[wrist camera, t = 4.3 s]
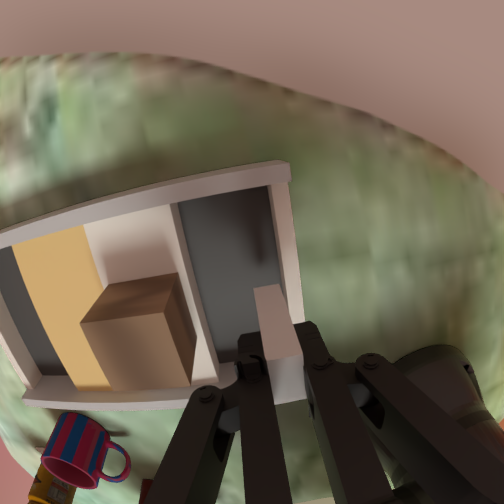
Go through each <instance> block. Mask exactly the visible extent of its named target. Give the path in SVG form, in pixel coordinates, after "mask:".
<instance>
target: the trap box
mask: <svg viewBox="0 0 504 504" xmlns="http://www.w3.org/2000/svg"><path fill="white" fill-rule="evenodd" d="M290 181H292V177H291V170H290V164H289V163H288V162H285V161H282V160H271V161H265V162H259V163H253V164H247V165H241V166H236V167H230V168H225V169H220V170H214V171H209V172H204V173H199V174H194V175H190V176H185V177H180V178H176V179H171V180H167V181H163V182H158V183H154V184H150V185H146V186H142V187H138V188H134V189H130V190H126V191H122V192H118V193H115V194H111V195H107V196H104V197H100V198H96V199H93V200H89V201H86V202H83V203H79V204H76V205H72V206H69V207H66V208H63V209H60V210H56V211H53V212H50V213H47V214H44V215H41V216H38V217H35V218H32V219H29V220H26V221H23V222H21V223H18V224H15V225H12V226H9V227H7V228H4V229H1V230H0V344H1V346H2V348H3V349H4V351H5V353H6V355H7V357H8V358H9V360H10V362H11V364H12V365H13V367H14V369H15V370H16V372H17V374H18V375H19V377H20V379H21V380H22V382H23V383H24V385H25V386H26V388H27V390H26V392H25V393H24V395H23V396H22V398H21V399H22V400H23V402H24V403H25V405H26V406H32V407H42V408H53V409H67V410H89V411H141V410H163V409H179V408H186V405H187V403H188V401H189V398H190V396H191V394H192V393H193V392H194V391H195V390H196V389H197V388H199V387H202V386H205V385H212V386H216V387H218V388H219V389H223V388H225V387H228V386H230V385H231V384H233V383H234V382H235V381H236V380H237V376H236V373H235V369H234V362H235V361H236V359H237V358H238V344H237V341H238V339H239V337H240V335H241V334H245V333H251V332H257V331H260V325H259V319H258V313H257V307H256V301H255V295H254V289H253V288H258V287H263V286H269V285H274V284H279V285H280V288H281V291H282V294H283V297H284V299H285V302H286V305H287V308H288V311H289V314H290V317H291V320H292V323H293V324H297V323H302V322H305V316H304V307H303V297H302V288H301V279H300V271H299V262H298V254H297V246H296V238H295V231H294V223H293V216H292V209H291V201H290V194H289V188H288V182H290ZM176 272H178V273H179V277H180V281H181V284H182V288H183V291H184V295H185V298H186V302H187V305H188V308H189V312H190V315H191V318H192V322H193V325H194V328H195V331H196V335H197V343H196V350H195V358H194V365H193V373H192V381H191V386H189V387H179V388H167V389H154V390H138V391H113V389H112V387H111V386H110V384H109V382H108V380H107V378H106V377H105V375H104V373H103V371H102V369H101V367H100V365H99V363H98V361H97V359H96V358H95V356H94V354H93V352H92V349H91V347H90V345H89V343H88V341H87V339H86V337H85V335H84V333H83V330H82V328H81V326H80V324H79V323H80V322H81V320H82V319H83V318H84V316H85V315H86V314H87V312H88V311H89V309H90V308H91V307H92V305H93V304H94V303H95V301H96V300H97V299H98V297H99V296H100V295H101V293H102V292H103V291H104V290H105V288H106V287H107V286H108V284H113V283H119V282H125V281H130V280H136V279H142V278H147V277H153V276H159V275H164V274H170V273H176Z"/></svg>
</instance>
